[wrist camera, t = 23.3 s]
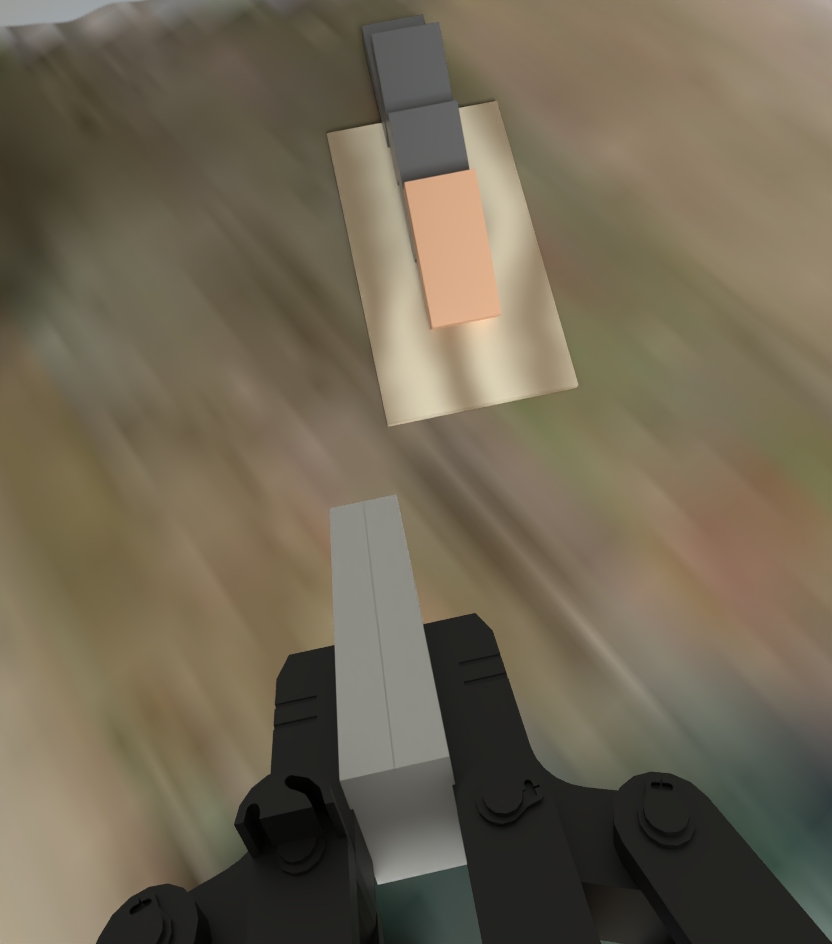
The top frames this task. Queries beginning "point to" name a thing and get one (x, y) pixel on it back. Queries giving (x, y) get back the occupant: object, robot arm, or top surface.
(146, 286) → the top surface
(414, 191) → the salmon orange block
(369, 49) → the dark grey block
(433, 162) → the dark grey block
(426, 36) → the grey rectangular slab
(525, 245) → the birch board
